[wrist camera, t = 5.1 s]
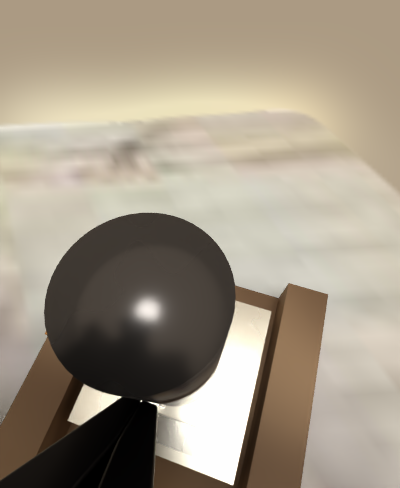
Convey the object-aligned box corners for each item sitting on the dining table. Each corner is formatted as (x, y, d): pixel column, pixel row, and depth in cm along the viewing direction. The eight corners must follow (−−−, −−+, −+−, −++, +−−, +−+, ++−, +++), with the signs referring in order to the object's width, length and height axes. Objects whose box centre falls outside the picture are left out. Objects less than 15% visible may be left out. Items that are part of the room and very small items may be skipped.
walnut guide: (231, 757, 10) (243, 907, 7) (-51, 611, 11) (-142, 682, 8) (306, 314, 16) (330, 292, 13) (118, 258, 17) (101, 226, 14)
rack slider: (229, 476, 12) (295, 638, 3) (82, 419, 13) (-159, 434, 4) (264, 321, 15) (352, 191, 6) (140, 283, 15) (64, 123, 7)
